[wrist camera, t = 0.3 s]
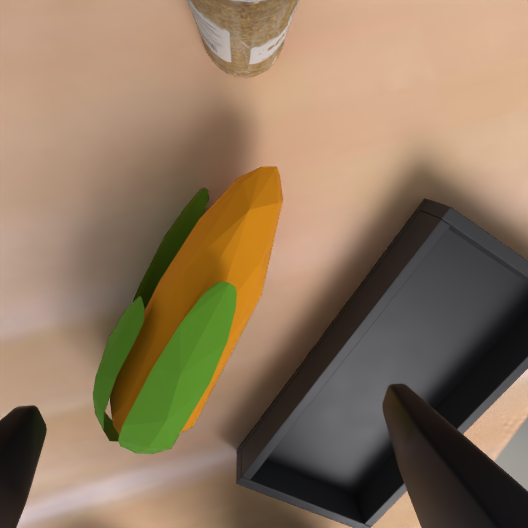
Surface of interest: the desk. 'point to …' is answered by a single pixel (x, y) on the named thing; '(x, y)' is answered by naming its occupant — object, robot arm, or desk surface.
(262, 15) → the sprinkles bottle
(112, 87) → the desk surface
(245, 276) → the corn
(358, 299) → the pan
